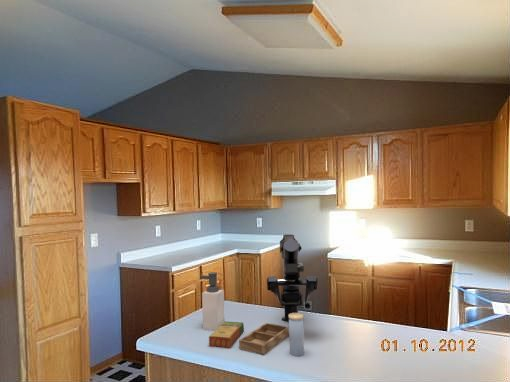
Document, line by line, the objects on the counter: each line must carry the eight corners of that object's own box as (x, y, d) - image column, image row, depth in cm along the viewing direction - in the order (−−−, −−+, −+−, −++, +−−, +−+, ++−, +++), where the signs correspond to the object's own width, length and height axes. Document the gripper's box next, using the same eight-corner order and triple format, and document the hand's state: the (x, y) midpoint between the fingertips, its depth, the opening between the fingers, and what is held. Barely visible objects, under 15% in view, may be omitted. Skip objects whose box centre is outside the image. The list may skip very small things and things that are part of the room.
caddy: (266, 330, 146) (266, 322, 146) (289, 335, 140) (288, 327, 140) (239, 349, 129) (238, 340, 129) (264, 355, 124) (263, 345, 124)
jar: (293, 348, 128) (292, 311, 128) (306, 351, 126) (305, 314, 126) (286, 354, 124) (285, 316, 124) (300, 357, 122) (299, 318, 122)
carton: (208, 347, 132) (208, 335, 132) (224, 331, 148) (224, 320, 148) (230, 349, 130) (230, 337, 130) (244, 332, 145) (244, 321, 145)
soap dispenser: (206, 322, 156) (204, 270, 156) (224, 325, 153) (223, 271, 153) (197, 328, 150) (196, 273, 150) (217, 330, 147) (215, 275, 147)
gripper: (266, 255, 140) (266, 291, 129) (316, 254, 139) (320, 291, 127) (267, 272, 148) (267, 308, 136) (314, 271, 146) (318, 307, 135)
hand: (293, 303), depth 134 cm, fingers open, 9 cm apart
